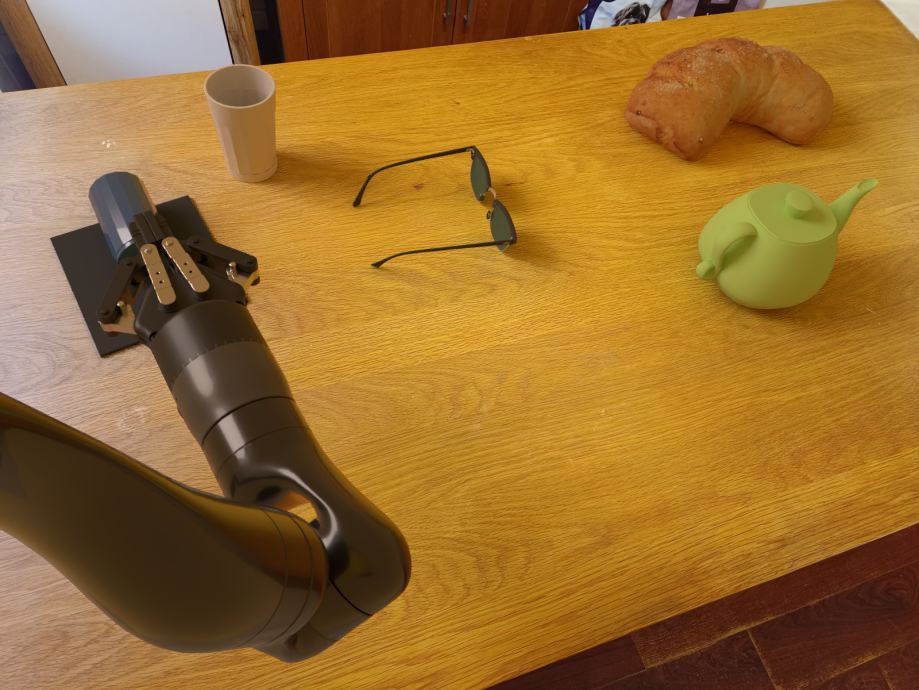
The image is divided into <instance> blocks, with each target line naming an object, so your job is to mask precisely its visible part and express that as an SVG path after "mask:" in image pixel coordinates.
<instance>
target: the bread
mask: <svg viewBox="0 0 919 690" xmlns="http://www.w3.org/2000/svg"><path fill="white" fill-rule="evenodd" d="M833 104H834V93H833V91H832V88H831V86H830V84H829V82H828V81H827V80H826V79H825V77H824V76H823V75H822V74H821V73H820V72H818V71H817V70H816V69H814V68H813V67H812V66H810V64H808V63H807V64H805V63H804V62H803V60H802V59H801V58H800V57H799V56H798V55H797V54H795V53H794V52H793V51H791V50H789V49H787V48H785V47H782V46H780V45H764V46H762V45H760V44H759V43H758V42H757V41H755V40H751V39H748V38H743V37H740V36H738V37H735V36H734V37H732V36H731V37H729V36H727V37H716V38H711V39H710V38H709V39H706V40H703V41H700V42H698V43H696V44H694V45H693V46H686V47H682V48H679V49H675V50H674V51H671V52H669V53H668V54H666V55H664V56H663V57H661V58H660V59H658V61H656V62H655V63H654V64H653V65H652V66H651V67H650V69H649V70H648V71H647V72H646V75H645V76H644V78H643V79H642V80H640V81H639V82H637V84H636V85H635V86H634V87H633V88H632V91H631V93H630V95H629V97H628V100H627V102H626V105H625V108H624V117H625V120H626V121H627V123H628V124H629V126H630V127H631V128H633V129H634V130H636V131H639V132H640V133H642V134H645V135H647V137H649V138H651V139H653V140H654V141H656V142H658V143H660V144H661V145H663V146H664V147H665V148H667V149H668V150H669V151H670V152H671V153H674V154H676V155H678V156H679V157H680V158H681V159H683V161H686V162H695V161H696V162H697V161H699V160H700V159H702V158H703V157H704V156H705V155H706V153H707V152H708V151H709V150H710V149H711V148H712V147H713V146H715V143H716V142H717V141H718V140H719V138H720V137H721V135H723V132H724V131H725V129H726V127H727V125H728V124H729V122H730V121H735V122H740V123H745V124H749V125H752V126H753V127H756V128H759V129H762V130H763V131H764V132H766V133H767V134H769V135H771V136H773V137H775V138H776V139H779V140H781V141H783V142H785V143H787V144H791V145H794V146H804V145H806V144H809V143H811V142H812V141H813V140H815V139H816V137H817V136H818V135H819V134H820V133H821V132H823V131H825V130H826V129H827V128H828V127H829V125H830V123H831V122H832V119H833V116H834V113H833V110H834V109H833Z"/></svg>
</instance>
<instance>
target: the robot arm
mask: <svg viewBox="0 0 919 690" xmlns="http://www.w3.org/2000/svg"><path fill="white" fill-rule="evenodd" d="M133 218H134V222H131V223H129V230H130V233H131V236H132V238H133V241H134V243H135V245H136V247H137V249H138V251H139V253H138V254H137V255H136V256H135V257H134V258H133V257H125V258H123V259H122V260H121V261H120V263H119V265H118V267H117V269H116V271H115V273H114V275H113V277H112V279H111V281H110V283H109V286H108V288H107V290H106V292H105V294H104V296H103V298H102V300H101V302H100V304H99V306H98V308H97V310H96V316H97V318H98V320H99V323H100V325H101V327H102V329H103V330H104V333H105V334H106V336H108V337H116V336H118V335H119V334H120V333H121V332H123V333H130V334H136V336H137V339H138V340H139V341H140V342H141V343H140V344H141V345H144V346H145V347H147V348H148V349H149V350H150V351H151V354H152V356H153V358H154V360H155V362H156V364H157V366H158V369H159V370H160V373H161V374H162V378H163V379H164V381H165V383H166V385H167V387H168V390H169V392H170V394H171V396H172V398H173V400H174V402H175V404H176V410H177V413H178V414H179V416H180V417H181V418H182V419H183V422H184V424H185V425H186V427H187V429H188V431H189V432H190V434H191V435H192V437H193V438H194V439H195V441H196V442H197V443H198V445H199V447H200V449H201V450H202V453H203V455H204V457H205V459H206V461H207V463H208V465H209V467H210V470H211V472H212V474H213V476H214V478H215V479H216V483H217V485H218V486H219V488H220V489H221V490H220V491H221V493H222V495H223V496H222V495H218V494H214V493H211V492H207V491H204V490H202V489H198V488H195V487H193V486H190V485H188V484H186V483H183V482H181V481H179V480H177V479H174V478H173V477H170V476H168V475H166V474H164V473H162V472H161V471H159V470H157V469H155V468H153V467H151V466H149V465H147V464H145V463H144V462H142V461H140V460H138V459H136V458H135V457H134V456H133V457H132V456H130V455H129V454H127V453H126V452H124V451H121V450H119V449H118V448H115V447H114V446H112V445H110V444H108V443H106V442H104V441H102V440H100V439H98V438H96V437H94V436H92V435H89V434H88V433H86V432H85V431H84V432H83V431H81V430H80V429H78V428H76V427H73V426H71V425H69V424H67V423H65V422H63V421H61V420H59V419H57V418H56V417H53V416H51V415H50V414H47V413H45V412H43V411H41V410H39V409H37V408H35V407H33V406H31V405H28V404H27V403H24V402H22V401H20V400H18V399H16V398H15V397H12V396H10V395H8V394H6V393H4V392H2V391H0V531H2V532H4V533H6V534H7V535H9V536H11V537H12V538H14V539H16V540H17V541H18V542H20V543H21V544H22V545H24V546H26V547H27V548H29V549H30V550H32V551H33V552H34V553H36V554H37V555H38V556H40V558H43V559H44V560H45V561H46V562H47V563H49V564H50V565H51V566H52V567H53V568H54V569H55V570H57V571H58V572H59V574H61V575H63V576H64V577H65V578H66V579H67V580H68V581H69V582H70V583H71V584H72V585H73V586H74V587H75V588H77V590H78V591H79V592H80V593H81V594H82V595H83V596H85V598H87V600H88V601H90V602H91V603H92V604H93V605H94V606H96V607H97V608H98V610H100V611H101V612H102V613H103V614H104V615H105V616H107V618H109V619H110V620H111V621H112V622H114V623H115V624H116V625H117V626H118V627H120V628H121V629H122V630H124V631H125V632H126V633H128V634H130V635H132V636H134V637H136V638H137V639H139V640H141V641H143V642H144V643H147V644H148V645H151V646H154V647H156V648H159V649H162V650H167V651H171V652H175V653H179V654H211V653H212V654H213V653H219V652H227V651H233V650H240V649H248V648H252V649H254V650H256V651H257V652H260V653H263V654H265V655H268V656H270V657H272V658H274V659H276V660H278V661H280V662H282V663H286V664H295V663H300V662H303V661H307V660H309V659H311V658H314V657H316V656H318V655H321V653H323V652H325V651H326V650H328V649H329V648H331V647H332V646H334V645H335V644H336V643H338V642H339V641H340V640H342V639H343V638H345V637H346V636H347V635H349V634H350V633H351V632H353V631H354V630H355V629H357V628H358V627H360V626H361V625H363V624H364V623H365V622H367V621H368V620H370V619H371V618H372V617H374V616H375V615H376V614H378V613H380V612H381V611H382V610H383V609H385V608H386V607H388V606H389V605H390V604H391V603H393V602H394V601H396V600H397V599H398V598H399V597H400V596H401V595H402V594H403V593H404V592H405V591H406V589H407V587H408V586H409V584H410V582H411V578H412V570H413V561H412V554H411V550H410V545H409V543H408V541H407V539H406V537H405V535H404V533H403V531H402V530H401V529H400V527H398V525H397V524H396V523H395V522H394V521H393V520H392V518H390V517H389V516H388V515H387V514H386V513H385V512H384V511H383V510H382V509H380V507H378V505H377V504H375V503H374V502H373V501H372V500H371V499H369V497H367V495H365V494H364V493H363V492H362V491H361V490H360V489H359V488H358V487H357V486H356V485H355V484H353V483H352V481H351V480H350V479H349V478H348V477H347V476H346V475H345V474H344V472H342V471H341V470H340V468H339V467H338V466H337V465H336V464H335V462H333V460H332V459H331V458H330V457H329V456H328V454H327V453H326V451H325V450H324V449H323V447H322V446H321V444H320V443H319V441H318V439H317V438H316V436H315V434H314V432H313V431H312V428H311V427H310V425H309V423H308V421H307V419H306V418H305V416H304V414H303V412H302V410H301V409H300V407H299V405H298V403H297V402H296V399H295V397H294V395H293V392H292V389H291V386H290V383H289V381H288V379H287V377H286V374H285V373H284V371H283V369H282V367H281V366H280V364H279V362H278V361H277V358H276V357H275V355H274V354H273V351H272V349H270V347H269V344H268V342H267V341H266V339H265V338H264V336H263V334H262V332H261V330H260V329H259V327H258V325H257V323H256V322H255V320H254V318H253V316H252V314H251V313H250V310H249V309H248V302H247V300H248V298H247V294H246V292H247V291H248V290H249V289H250V287H255V286H258V285H259V284H260V282H261V274H260V269H259V262H258V258H257V257H256V256H255V255H252V254H249V253H247V252H245V251H241V250H239V249H236V248H233V247H231V246H228V245H225V244H223V243H220V242H218V241H215V240H214V241H212V240H209V239H207V238H204V237H201V236H198V235H193V236H191V237H189V238H188V240H178V239H176V238H175V237H174V235H173V233H172V231H171V229H170V227H169V226H168V224H167V222H166V220H165V218H164V217H163V216H162V215H161V214H156V215H153V213H152V211H151V210H147V211H144V212H142V213H138V214H135V215H133ZM161 256H162V257H161ZM162 258H163V259H164V258H166V260H167V262H168V265H169V267H170V268H171V270H172V271H173V273H174V274H175V275H170V276H168V275H167V273H166V270H165V268H164V265H163V263H162V261H161V259H162ZM197 266H199V267H201V268H204V269H207V270H209V271H212V272H215V273H217V274H220V275H223V276H225V277H228V279H226V278H224V277H221V276H219V275H217V274H214V273H212V272H209V271H207V270H204V269H198V268H197ZM147 277H150V280H151V283H152V284H151V285H150V286H149V287H148V288H147V290H146V291H145V294H144V296H143V299H142V301H141V304H140V306H139V309H138V311H137V314H136V317H134V312H133V310H132V307H133V305H134V303H135V300H136V298H137V296H138V294H139V292H140V289H141V287H142V285H143V282H144V281H143V280H144V279H146V278H147ZM246 298H247V299H246ZM306 504H310V505H311V507H312V509H313V510H314V512H315V514H316V517H314V518H313V519H312V520H310V522H308V521H307V520H306V519H305V518H303V517H301V516H299V515H297V514H295V513H293V512H291V510H293V509H295V508H296V509H297V508H298V507H301V506H303V505H306Z"/></svg>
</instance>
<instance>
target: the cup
mask: <svg viewBox="0 0 919 690" xmlns="http://www.w3.org/2000/svg"><path fill="white" fill-rule="evenodd" d="M276 84H277V83H276V81H275V78H274V77H273V76H272V74H270V73H269V72H268V71H267V70H265V69H263V68H261V67H259V66H256V65H251V64H246V63H245V64H244V63H237V64H236V63H233V64H228V65H224V66H221V67H218V68H216V69H215V70H213V71H212V72H210V73H209V74H208V75H207V76H206V78H205V80H204V82H203V92H204V94H205V98H206V101H207V104H208V108H209V111H210V115H211V117H212V121H213V124H214V128H215V131H216V134H217V137H218V141H219V144H220V149H221V151H222V155H223V158H224V162H225V166H226V171H227V173H228V174H229V175H230V177H232V178H233V179H235V180H237V181H239V182H243V183H247V184H251V183H253V184H254V183H260V182H264V181H266V180H268V179H269V178H272V177H273V176H274V175H275V173H276V172H277V170H278V165H279V164H278V156H277V138H276V137H277V136H276V135H277V134H276V133H277V132H276V110H277V102H276V101H277V99H276V98H277V97H276V96H277V93H276V92H277V85H276Z"/></svg>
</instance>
